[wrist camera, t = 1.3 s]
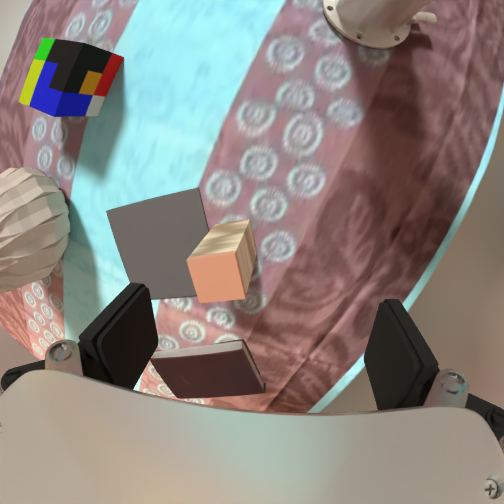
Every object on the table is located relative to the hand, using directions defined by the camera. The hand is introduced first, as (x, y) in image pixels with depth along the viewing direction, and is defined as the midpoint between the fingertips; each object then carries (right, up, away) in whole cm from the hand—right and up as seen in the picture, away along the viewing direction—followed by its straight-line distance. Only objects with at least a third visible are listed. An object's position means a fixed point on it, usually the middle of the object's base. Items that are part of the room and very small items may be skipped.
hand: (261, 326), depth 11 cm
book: (-9, -19, +39) cm, 45 cm away
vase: (-38, +10, +30) cm, 49 cm away
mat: (-14, +3, +30) cm, 33 cm away
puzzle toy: (-26, +30, +21) cm, 44 cm away
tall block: (-3, +5, +28) cm, 28 cm away
